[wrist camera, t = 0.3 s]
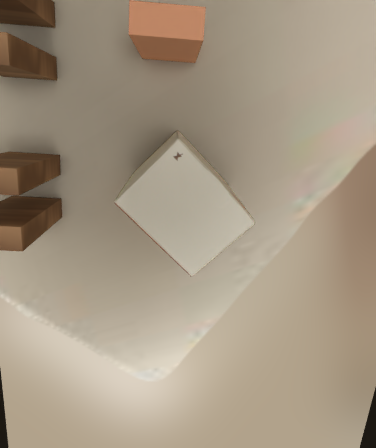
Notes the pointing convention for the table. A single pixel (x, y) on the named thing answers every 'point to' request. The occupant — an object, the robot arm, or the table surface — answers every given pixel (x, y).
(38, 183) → the domino
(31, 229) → the domino
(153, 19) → the domino
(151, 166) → the small box
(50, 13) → the domino
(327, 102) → the table surface
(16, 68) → the domino
